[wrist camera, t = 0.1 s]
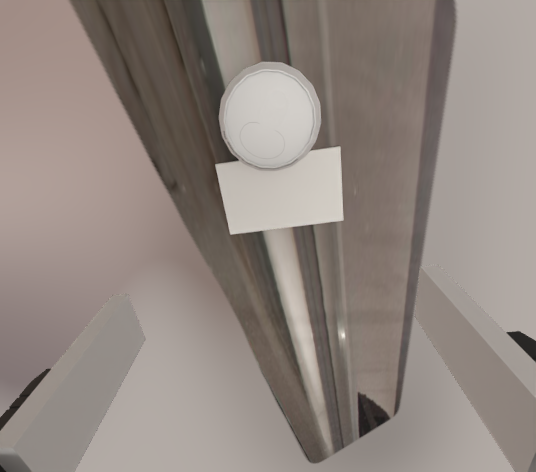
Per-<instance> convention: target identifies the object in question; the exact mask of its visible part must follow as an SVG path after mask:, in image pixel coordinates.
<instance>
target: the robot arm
mask: <svg viewBox="0 0 536 472" xmlns="http://www.w3.org/2000/svg"><path fill="white" fill-rule="evenodd" d="M415 318H416V319H417V321H418V322H419V324H420V325H421V327H422V329H423V330H424V332H425V333H426V335H427V336H428V338H429V339H430V341H431V342H432V344H433V346H434V347H435V349H436V350H437V352H438V353H439V355H440V356H441V358H442V359H443V361H444V362H445V364H446V366H447V367H448V369H449V370H450V372H451V373H452V375H453V376H454V378H455V380H456V381H457V383H458V384H459V386H460V387H461V389H462V390H463V392H464V393H465V395H466V396H467V398H468V400H469V401H470V403H471V404H472V406H473V407H474V409H475V410H476V412H477V413H478V415H479V417H480V418H481V420H482V421H483V423H484V424H485V426H486V427H487V429H488V431H489V432H490V434H491V435H492V436H493V438H494V440H495V441H496V443H497V444H498V446H499V447H500V449H501V450H502V452H503V454H504V455H505V457H506V458H507V460H508V461H509V463H510V465H511V466H512V468H513V469H514V471H515V472H536V341H535V340H533V339H532V338H530V337H528V336H526V335H525V334H523V333H521V332H519V331H517V332H505V331H504V330H503V329H502V328H501V327H500V326H499V325H498V324H497V323H496V322H495V321H494V320H493V319H492V318H491V317H490V316H489V315H488V314H487V313H486V312H485V311H484V310H483V309H482V308H481V307H480V306H479V305H478V304H477V303H476V302H475V301H474V300H473V299H472V298H471V297H470V296H469V295H468V294H467V293H466V292H465V291H464V290H463V289H462V288H461V287H460V286H459V285H458V284H457V283H456V282H455V281H454V280H453V279H452V278H451V277H450V276H449V275H448V274H447V273H446V272H445V271H444V270H443V269H442V268H441V267H440V266H439V265H428V266H420V272H419V281H418V291H417V300H416V310H415ZM144 341H145V336H144V333H143V331H142V328H141V326H140V323H139V320H138V318H137V316H136V313H135V311H134V308H133V305H132V303H131V300H130V297H129V295H128V294H121V295H112V296H111V297H110V299H109V300H108V301H107V302H106V304H105V305H104V306H103V307H102V308H101V310H100V311H99V312H98V313H97V315H96V316H95V317H94V318H93V319H92V321H91V322H90V323H89V324H88V325H87V327H86V328H85V329H84V330H83V331H82V333H81V334H80V335H79V336H78V337H77V339H76V340H75V341H74V342H73V344H72V345H71V346H70V347H69V348H68V350H67V351H66V352H65V353H64V354H63V356H62V357H61V358H60V359H59V360H58V362H57V363H56V364H55V365H54V366H53V368H52V369H46V370H45V371H44V372H43V373H41V374H40V375H39V376H38V377H36V378H35V379H34V380H33V381H32V382H31V383H30V384H29V385H28V386H27V387H26V388H25V389H24V391H23V392H22V393H21V394H20V397H19V398H17V399H16V400H15V401H14V402H13V403H12V405H11V406H10V409H9V410H6V412H5V413H4V414H3V415H2V416H1V417H0V472H75V470H76V468H77V466H78V464H79V463H80V461H81V459H82V457H83V455H84V453H85V451H86V450H87V448H88V446H89V444H90V442H91V440H92V438H93V436H94V435H95V433H96V431H97V429H98V427H99V425H100V423H101V422H102V419H103V418H104V416H105V414H106V412H107V410H108V408H109V407H110V405H111V403H112V401H113V399H114V397H115V395H116V394H117V392H118V389H119V388H120V386H121V384H122V382H123V380H124V379H125V376H126V375H127V373H128V371H129V369H130V367H131V366H132V363H133V362H134V360H135V358H136V356H137V354H138V352H139V351H140V349H141V347H142V345H143V343H144Z"/></svg>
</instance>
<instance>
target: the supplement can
mask: <svg viewBox="0 0 536 472" xmlns="http://www.w3.org/2000/svg"><path fill="white" fill-rule="evenodd" d="M219 123H220V128H221V133H222V137H223V139H224V141H225V143H226V145H227V146H228V148H229V150H230V152H231V153H232V154H233V155H234V156H235V157H237V158H238V159H239V160H240V161H241V162H242V163H243V164H245V165H247V166H250V167H252V168H254V169H257V170H259V171H279V170H282V169H285V168H288V167H292V166H293V165H295V164H296V163H297V162H299V161H300V160H301V159H303V158H304V157H305V156H306V155H307V154H308V152H309V151H310V149H311V148H312V146H313V145H314V143H315V142H316V140H317V136H318V133H319V129H320V125H321V110H320V102H319V99H318V97H317V95H316V92H315V90H314V87H313V85H312V84H311V83H310V82H309V81H308V80H307V79H306V77H305V76H304V75H303V74H302V73H301V72H300V71H299V70H297V69H295V68H292V67H290V66H288V65H286V64H284V63H282V62H260V63H258V64H255V65H252V66H250V67H247V68H244V69H243V70H242V71H241V72H240V73H239V74H238V75H237V76H236V77H235V78H233V79H232V80H231V81H230V83H229V85H228V87H227V89H226V91H225V93H224V95H223V96H222V98H221V104H220V112H219Z"/></svg>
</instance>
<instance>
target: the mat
mask: <svg viewBox="0 0 536 472" xmlns="http://www.w3.org/2000/svg"><path fill="white" fill-rule="evenodd" d="M215 166H216V171H217V175H218V180H219V185H220V189H221V194H222V198H223V203H224V208H225V212H226V217H227V221H228V226H229V231H230V235H231V234H239V233H247V232H255V231H263V230H271V229H279V228H287V227H295V226H303V225H311V224H319V223H327V222H335V221H343V198H342V174H341V150H340V146H335V147H328V148H321V149H315V150H310V151H309V152H308V154H307V155H306V156H305V157H304V158H303V159H301V160H300V161H299V162H297V163H296V164H295V165H293V166H292V167H288V168H285V169H282V170H279V171H259V170H257V169H254V168H252V167H250V166H247V165H245V164H243V163H242V162H241V161H240V160H239V161H232V162H225V163H218V164H215Z"/></svg>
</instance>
